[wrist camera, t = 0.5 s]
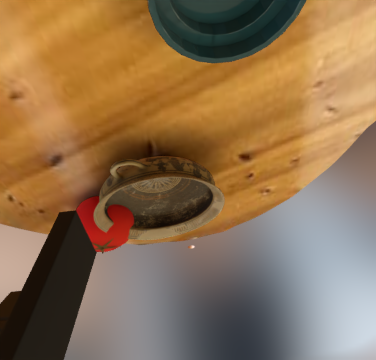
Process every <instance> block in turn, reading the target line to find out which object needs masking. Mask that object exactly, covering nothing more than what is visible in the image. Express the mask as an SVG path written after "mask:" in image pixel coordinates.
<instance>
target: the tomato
mask: <svg viewBox="0 0 376 360" xmlns="http://www.w3.org/2000/svg"><path fill="white" fill-rule="evenodd" d="M98 203H99V196H94V197H91V198H88V199H86V200H84V201H83V202H82V203H81V204H80V205H79V206H78V208H77V209H76V211H77V213H78V215H79V217H80V219H81V222H82V224H83V226H84V228H85V230H86V232H87V234H88V236H89V238H90V240H91V242H92V244H93V246H94V249H95V251H96V252H102V253H103V252H106V251H111V250H114V249H116V248H118V247H119V246H121V245H122V244H124V243H126V242H127V241H128V236H129V230H130V228H131V227H132V226H133V224H134V217H133V214H132V212H131V211H130V210H129V209H128V208H127V207H125V206H122V205H117V204H113V205H110V206H109V207H108V209H107V212H108V215H109V217H110V218H111V219H112V221H113V222H114V224H113V225H112V226H111V227H110V228H109V229H108V231H107V232H104V231H102V230H101V229H100V228H99V227H98V226H97V225H96V223H95V221H94V211H95V208H96V206H97V205H98Z"/></svg>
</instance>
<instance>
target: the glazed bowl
mask: <svg viewBox="0 0 376 360" xmlns="http://www.w3.org/2000/svg"><path fill="white" fill-rule="evenodd" d="M305 2H306V0H147V3H148V8H149V12H150V14H151V17H152V20H153V22H154V25H155V28H156V30H157V31H158V32H159V34H160V35H161V36H162V38H163V39H164V40H165V42H166V43H167V44H168V45H169V46H170V47H172V48H173V49H174V50H176V51H177V52H178V53H180V54H181V55H183V56H186V57H188V58H191V59H193V60H196V61H199V62H207V63H223V62H232V61H236V60H239V59H242V58H245V57H248V56H250V55H253V54H255V53H256V52H258V51H260V50H262V49H263V48H265V47H267V46H268V45H270V44H271V43H272V42H273V41H274V40H276V39H277V38H278V37H279V36H280V35H282V34H283V33H284V32H285V31H286V29H287V28H288V27H289V26H290V25H291V23H292V22H293V21H294V20H295V19H296V17H297V15H299V13H300V11H301V9H302V8H303V6H304V4H305Z"/></svg>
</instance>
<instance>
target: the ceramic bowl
mask: <svg viewBox="0 0 376 360" xmlns="http://www.w3.org/2000/svg"><path fill="white" fill-rule="evenodd" d="M124 165H125V166H124ZM120 166H123V167H121V168H119V169H118V170H116V169H117V168H118V167H120ZM110 173H111V175H110V176H109V177H108V178H107V180H106V181H105V182H104V184H103V186H102V188H101V191H100V195H99V203H98V205H97V206H96V208H95V211H94V221H95V223H96V225H97V226H98V227H99V228H100V229H101V230H102V231H104V232H107V231H108V229H109V228H110V227H111V226H112V225H113V224H114V222H113V221H112V219H111V218H110V217H109V215H108V212H107V209H108V207H109V206H110V205H113V204H117V205H122V206H125V207H127V208H128V209H129V210H130V211H131V212H132V214H133V217H134V224H133V226H132V227H131V228H130V230H129V236H128V239H137V240H155V239H162V238H168V237H172V236H176V235H179V234H183V233H186V232H189V231H192V230H194V229H197V228H199V227H201V226H203V225H205V224H207V223H208V222H210V221H211V220H213V219H214V218H215V217H216V216H217V215H218V214H219V213H220V212H221V211H222V209H223V206H224V202H225V198H224V195H223V193H222V192H221V190H220V189H219V188H218V187H216V186H215V182H214V179H213V177H212V175H211V174H210V172H209V171H207V170H206V169H205V168H204V167H203V166H201V165H200V164H198V163H196V162H193V161H191V160H188V159H185V158H180V157H173V156H155V157H148V158H144V159H140V160H133V159H125V160H120V161H117V162H115V163H114V164H113V165H112V166H111V168H110Z"/></svg>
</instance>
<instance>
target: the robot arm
mask: <svg viewBox="0 0 376 360" xmlns="http://www.w3.org/2000/svg"><path fill="white" fill-rule="evenodd" d="M95 256H96V251H95V249H94V246H93V244H92V242H91V240H90V238H89V236H88V234H87V232H86V230H85V228H84V226H83V224H82V222H81V219H80V217H79V215H78V213H77V211H67V212H59V215H58V217H57V219H56V221H55V223H54V225H53V227H52V229H51V231H50V233H49V235H48V237H47V239H46V241H45V244H44V245H43V247H42V249H41V252H40V254H39V256H38V258H37V260H36V262H35V264H34V266H33V268H32V270H31V272H30V274H29V277H28V278H27V280H26V282H25V284H24V287H23V289H22V291H16V292H11V293H10V294H9V295H8V296H7V297H6V298H5V299H4V300H3V301H2V302H1V304H0V360H64V357H65V353H66V350H67V347H68V344H69V341H70V337H71V334H72V331H73V328H74V324H75V321H76V318H77V314H78V311H79V308H80V305H81V302H82V298H83V295H84V292H85V288H86V285H87V282H88V279H89V276H90V272H91V269H92V266H93V262H94V259H95Z"/></svg>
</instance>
